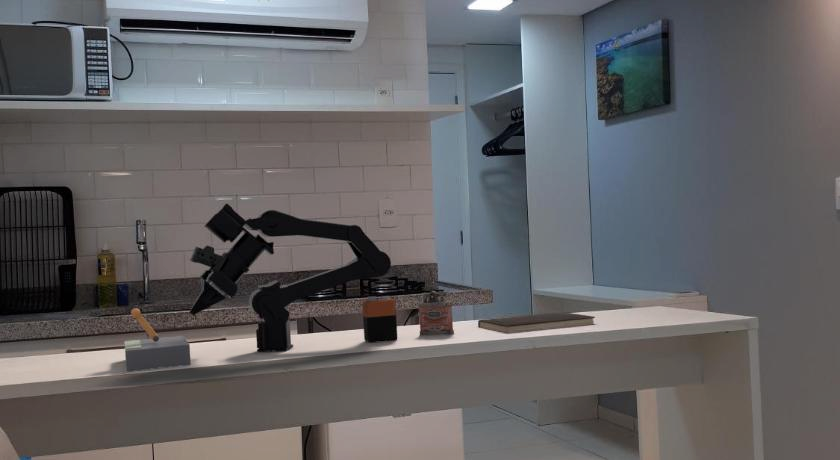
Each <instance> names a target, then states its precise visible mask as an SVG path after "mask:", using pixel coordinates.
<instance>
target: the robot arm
mask: <svg viewBox="0 0 840 460" xmlns="http://www.w3.org/2000/svg"><path fill="white" fill-rule="evenodd" d="M204 228H206V229H207V230H208V231H209V232H211V233H212V234H213V235H214V236H215V237H216V238H218V239H219V240H220V241H221V242H222V243H224V244H225V243H227V241H228V242H230V244H232V243H233V242H234V241H236V239H237V238H238V237H239V236H240V235H241V233H243V234H242V235H241V236H240V237H239V239H238V240H237V241H236V242H235V243H234V244H233V245H232V247H231V248H229V250H228V251H226V252H223V253H222V254H221V255H220V254H218V253H215V248H214V247H213V246H210V245H206V246H204V247H203V248H201V247H199V246H195V247H194V249H193V252H192V254H191V257H190V260H189V261H190V262H192V263H197V264H200V265H204V266H205V267H209V268H208V269H205V270H204V271H202V273H201V274H200V275H199V277H200V278H201V279H200V284H201V290H200V292H199V294H198V296H197V297H196V299H195V301H194V303H193V304H192V307H191V308H190V310H189V313H190V314H191V315H193V316H195V315H197V314H198V313H200V312H202V311H204V310H206V309H207V308H210V307H212V306H214V305H216V304H218V303H219V302H222V301H224V300H226V299H227V297H228V298H230V299H232V298H233V297H234V296H235V295H236V294H237V292H238V284H237V283H238V281H240V279H241V278H243V276H244V274H247V273H248V272H249V271H250V268H251V267H252V265H253V264H254V263H255V262H256V261H257V260H258V258H260V256H261V255H262V254H263V253H264V252H266V253H267V254H268V255H269V256H270V255H274V254H275V250H274V243H275V242H273V241H271V242H268V241H266V239H264V238H263V237H266V238H273V237H275V238H278V237H292V236H299V237H300V236H301V237H307V238H317V239H323V240H332V241H339V242H346V243H347V245H348V246H349V248H350V249H351V251H352V253H353V254H354V256H355V258H354V259H352V260H351V261H349V262H348V263H345V264H344V265H340V266H339V267H334V268H332V269H329V270H327V271H323V272H320V273H318V274H315V275H312V276H309V277H306V278H303V279H301V280H297V281H294V282H291V283H288V284H282V285H281V282H280V280H276V279H275V280H272V281H271V282H269V283H266V284H264V285H257V289H255V290H253V291H252V292H251V294H249V295H250V296H249V298H248V306H249V308H250V310H251V311H252V312H253V313H255V314H256V315H258V317H259V319H260V321H258V322H257V327H258V328H257V329H256V331H255V333H256V334H255V335H256V352H258V353H259V352H260V353H261V352H285V351H288V350H290V349H291V348H293V347H294V344H293V343H292V340H291V338H292V336H291V320H290V319H289V318H290V314H291V312H290V311H288V309H286V308H287V307H288V306H289V305H290V304H292V303H294V302H295V301H298V300H301V299H304V298H306V297H309V296H313V295H315V294H317V293H321V292H323V291H326V290H329V289H332V288H335V287H337V286H340V285H344V284H346V283H349V282H351V281H356V280H357V281H358V280H366V279H373V278H378V277H382V276H383V277H384V276H385V275H387V274H388V273H389V271H390V269H391V265H392V262H391V257H390V256H389V255H388V254H387V253H386V252H384V251H382V250H381V249H379V247H378V246H377V245H376V244H375V242H373V241H372V240H371V239H370V238H369V236H367V235H366V233H365V232H364V231H363V229H362V227H360V226H359V225H357V224H351V225H350V224H341V223H334V222H326V221H319V220H318V221H317V220H312V219H303V218H299V217H297V216H293V215H291V214H287V213H285V212H282V211H278V210H275V209H274V210H273V209H269V210H266V211H264V212H262V213H260V214H259V215H258V216H257V217H256V218H251V217H248V218H247V219H245V218H244V217H242V216H241V215H240V214H239V213H238V212H236V211H235V210H234V209H233V207H232V206H231V204H229V203H225V204H224V205H223V206H222V207H221V208H220V209H219V210H218V211H217V212H216V213H214V214H213V215H212V216H211V217H210V219H209V220H208V221H207V222H206V223H205V224H204ZM250 231H257V232H258V233H259V234H256V235H253V233H251V232H250ZM225 294H226V295H227V297H226V296H225Z"/></svg>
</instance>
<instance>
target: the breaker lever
mask: <svg viewBox="0 0 840 460" xmlns="http://www.w3.org/2000/svg"><path fill="white" fill-rule="evenodd" d="M140 310H141V309H139V308H135V307H134V308H133V309H132V310H130V311H131V312H130V313H131V317H132V318H134V319H136V320H137V322H138V323H139V325H140V326H141V327H142V329H144V331H145V332H146V333H147V334H148V335H149V337H150V339H153V341H155V342H157V341H158V340H159V338H160V337H159V335H158V334H157V333H156V331H154V329H153V327H151V325H150V324H149V323H148V321H147V320H146V319H145V318H144V316H143V315H142V314H141V313H142V312H141V311H140Z"/></svg>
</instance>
